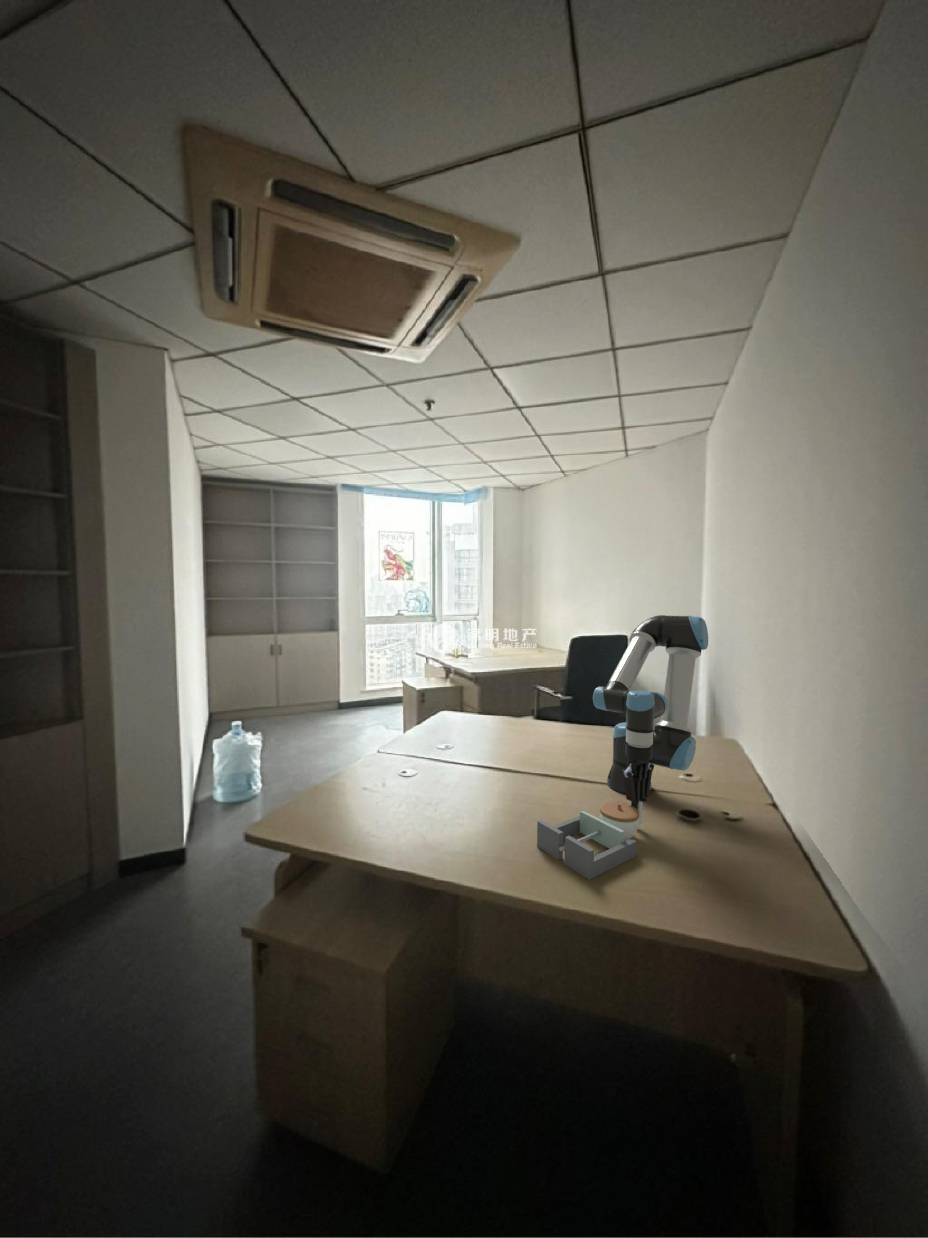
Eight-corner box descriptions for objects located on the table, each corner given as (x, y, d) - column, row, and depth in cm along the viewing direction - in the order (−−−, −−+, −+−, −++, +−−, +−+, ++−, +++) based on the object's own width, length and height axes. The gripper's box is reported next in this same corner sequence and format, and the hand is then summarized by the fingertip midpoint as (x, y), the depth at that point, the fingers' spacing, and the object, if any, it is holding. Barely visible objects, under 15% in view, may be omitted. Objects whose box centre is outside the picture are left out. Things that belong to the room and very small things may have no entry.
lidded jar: (641, 833, 132) (642, 801, 132) (634, 850, 123) (635, 816, 123) (604, 823, 138) (605, 793, 138) (595, 839, 129) (595, 806, 128)
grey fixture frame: (582, 827, 135) (583, 804, 135) (635, 856, 120) (636, 830, 120) (537, 846, 125) (537, 821, 124) (589, 879, 110) (589, 851, 109)
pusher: (582, 830, 132) (582, 810, 132) (623, 853, 121) (624, 831, 120) (540, 848, 123) (541, 826, 122) (581, 874, 111) (582, 850, 111)
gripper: (640, 737, 141) (638, 812, 142) (614, 744, 134) (612, 823, 135) (663, 743, 135) (660, 821, 136) (636, 751, 128) (634, 833, 128)
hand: (636, 822), depth 135 cm, fingers closed
